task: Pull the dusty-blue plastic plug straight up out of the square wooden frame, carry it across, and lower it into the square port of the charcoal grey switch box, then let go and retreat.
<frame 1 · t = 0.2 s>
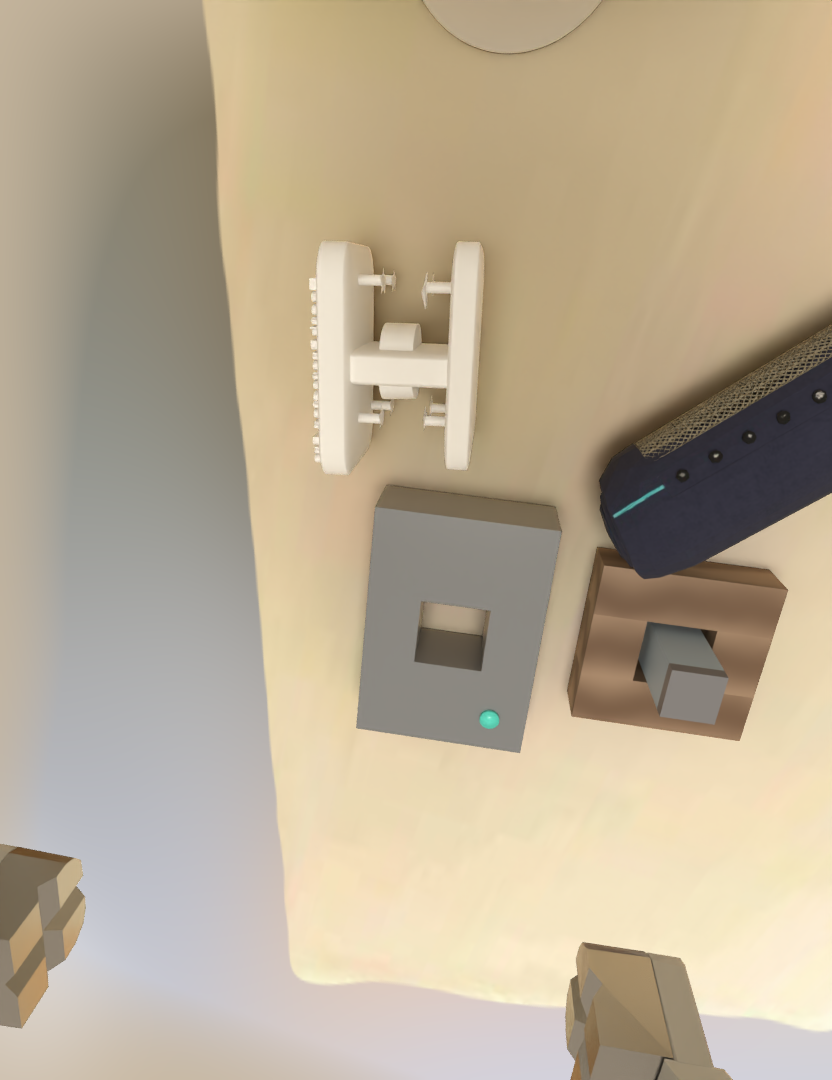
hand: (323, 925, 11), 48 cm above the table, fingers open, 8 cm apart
square wooden frame: (663, 633, 60), on the table
port box: (455, 604, 62), on the table
portable speaker: (742, 430, 54), on the table
cable organizer: (412, 350, 55), on the table
plug: (677, 662, 56), in the square wooden frame
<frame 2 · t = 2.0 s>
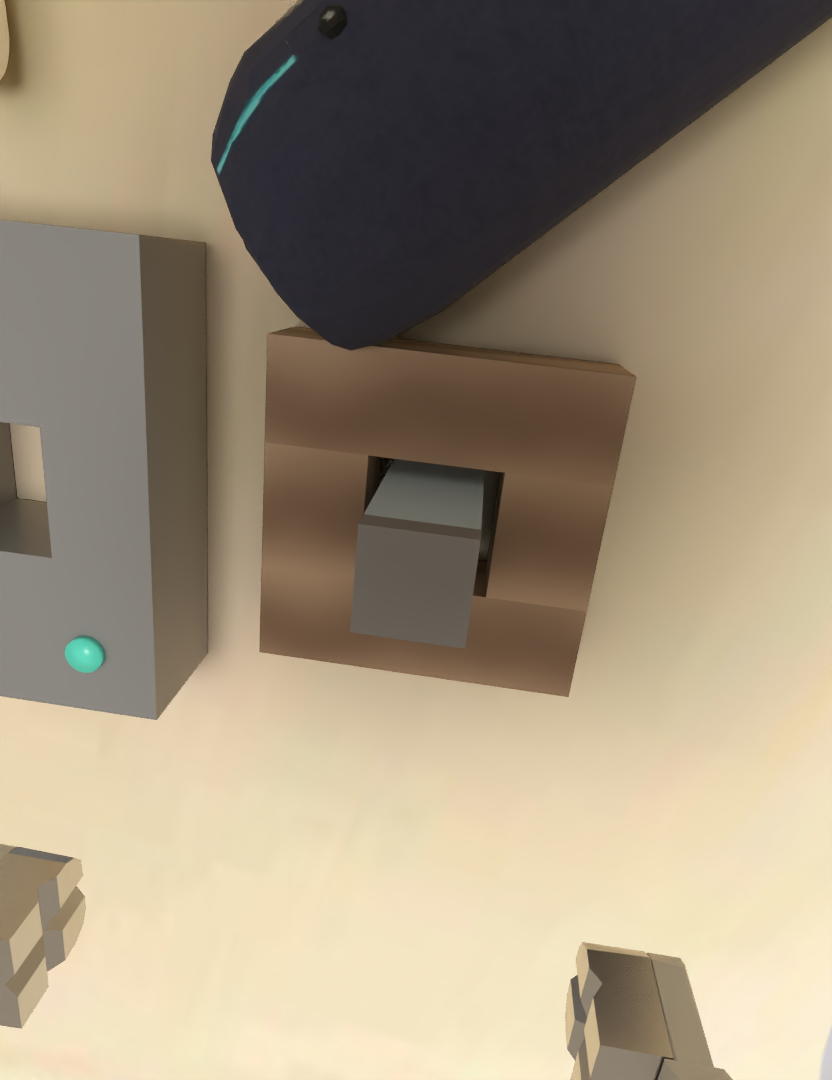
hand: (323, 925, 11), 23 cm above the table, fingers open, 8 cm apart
square wooden frame: (436, 499, 33), on the table
port box: (65, 451, 34), on the table
portable speaker: (556, 55, 26), on the table
plug: (426, 536, 28), in the square wooden frame
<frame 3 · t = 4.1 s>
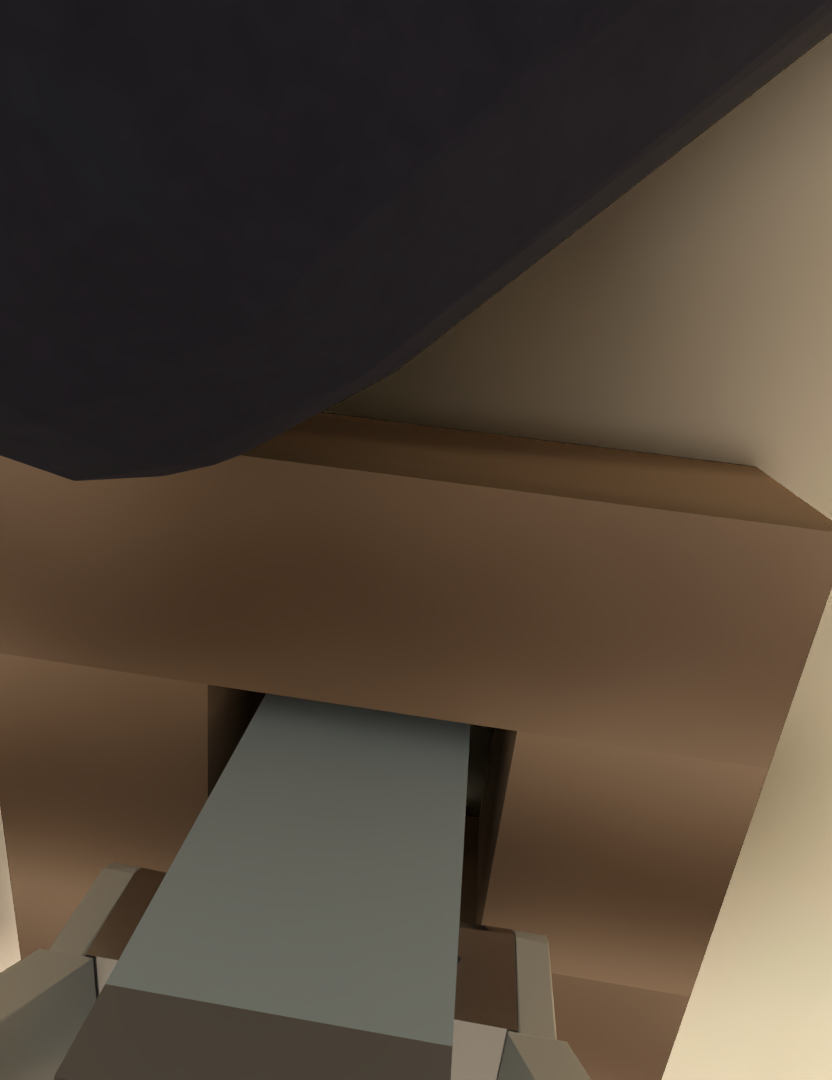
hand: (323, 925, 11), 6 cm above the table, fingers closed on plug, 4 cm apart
square wooden frame: (381, 709, 17), on the table
plug: (338, 871, 12), in the square wooden frame, touching gripper
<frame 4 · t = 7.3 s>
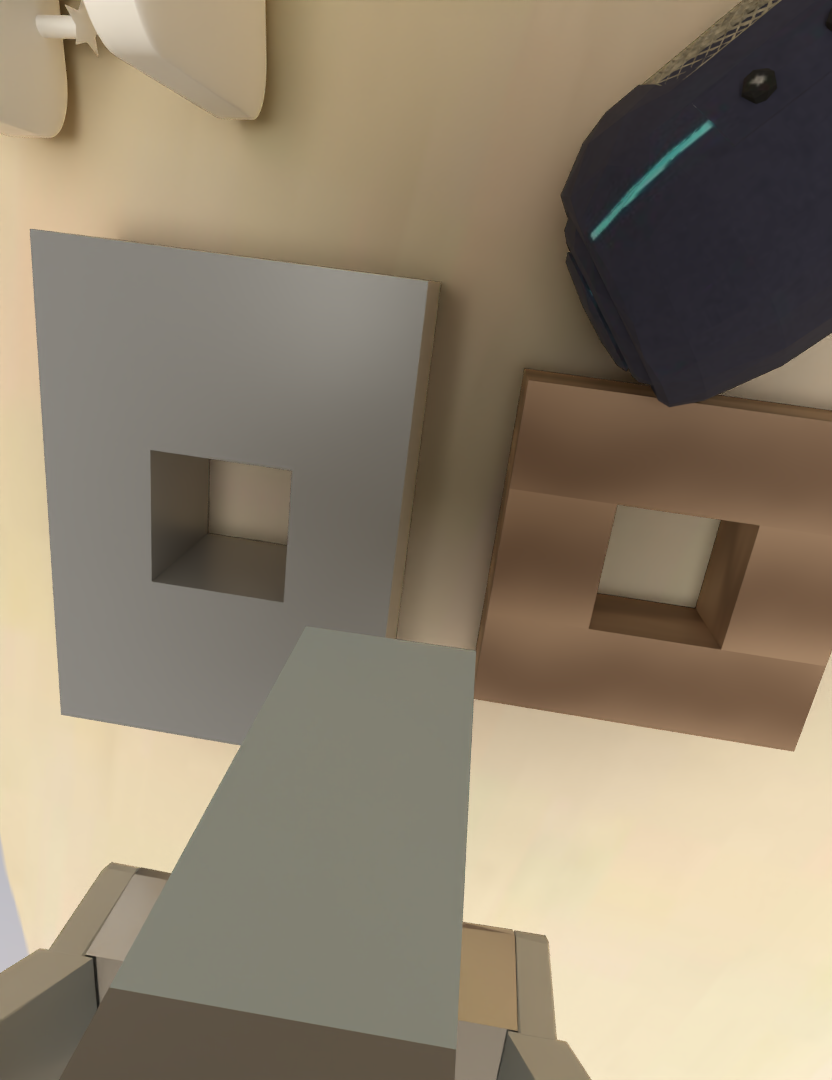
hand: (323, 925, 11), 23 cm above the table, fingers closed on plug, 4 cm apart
square wooden frame: (650, 545, 32), on the table
port box: (265, 487, 33), on the table
plug: (340, 873, 12), point 22 cm above the table, touching gripper
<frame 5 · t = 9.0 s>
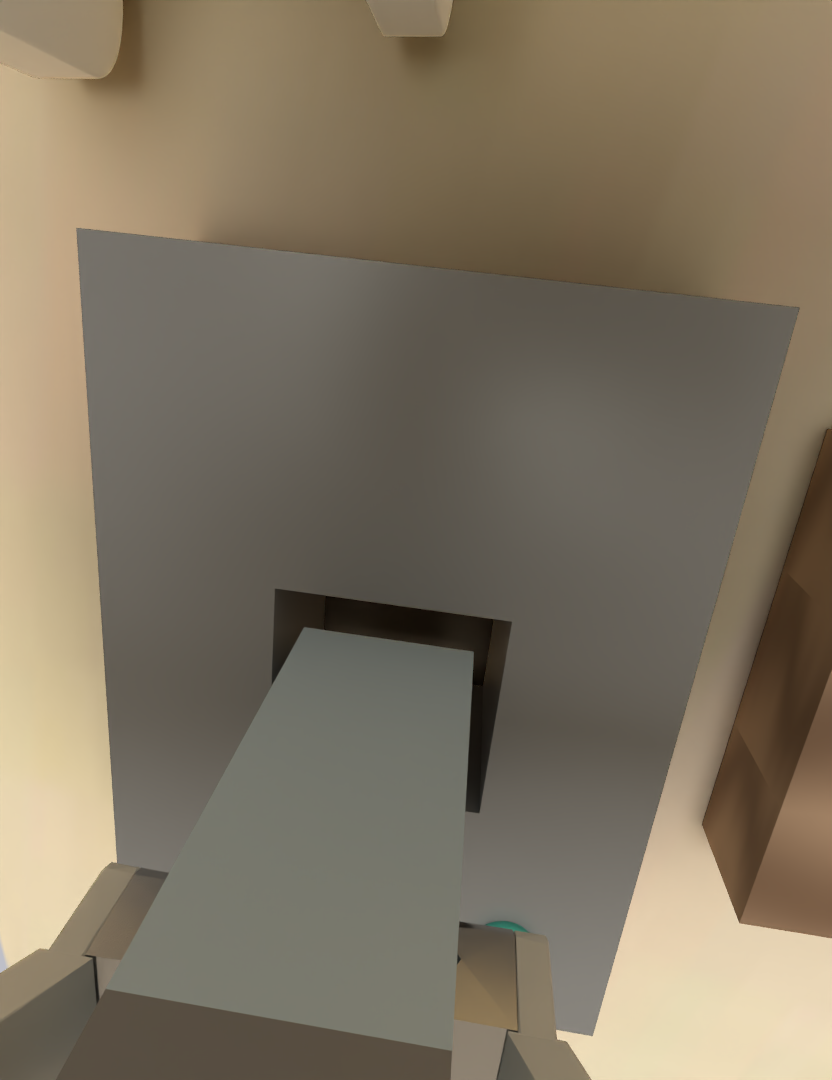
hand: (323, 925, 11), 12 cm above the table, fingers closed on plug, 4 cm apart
port box: (409, 600, 23), on the table
plug: (338, 874, 12), point 11 cm above the table, touching gripper
when the fingers open (7 cm above the table, at t = 10.4 s): plug stays where it is, resting in port box.
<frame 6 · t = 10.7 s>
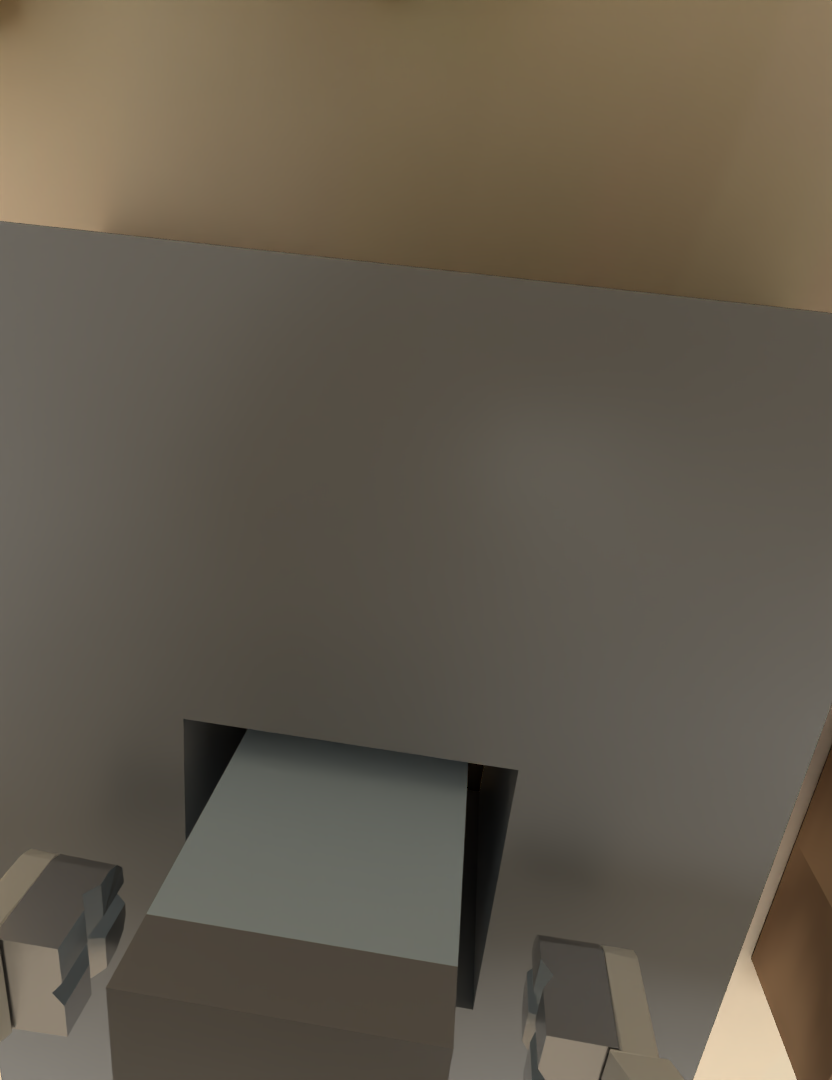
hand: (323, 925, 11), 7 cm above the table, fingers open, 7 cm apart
port box: (386, 688, 18), on the table
plug: (349, 831, 13), in the port box
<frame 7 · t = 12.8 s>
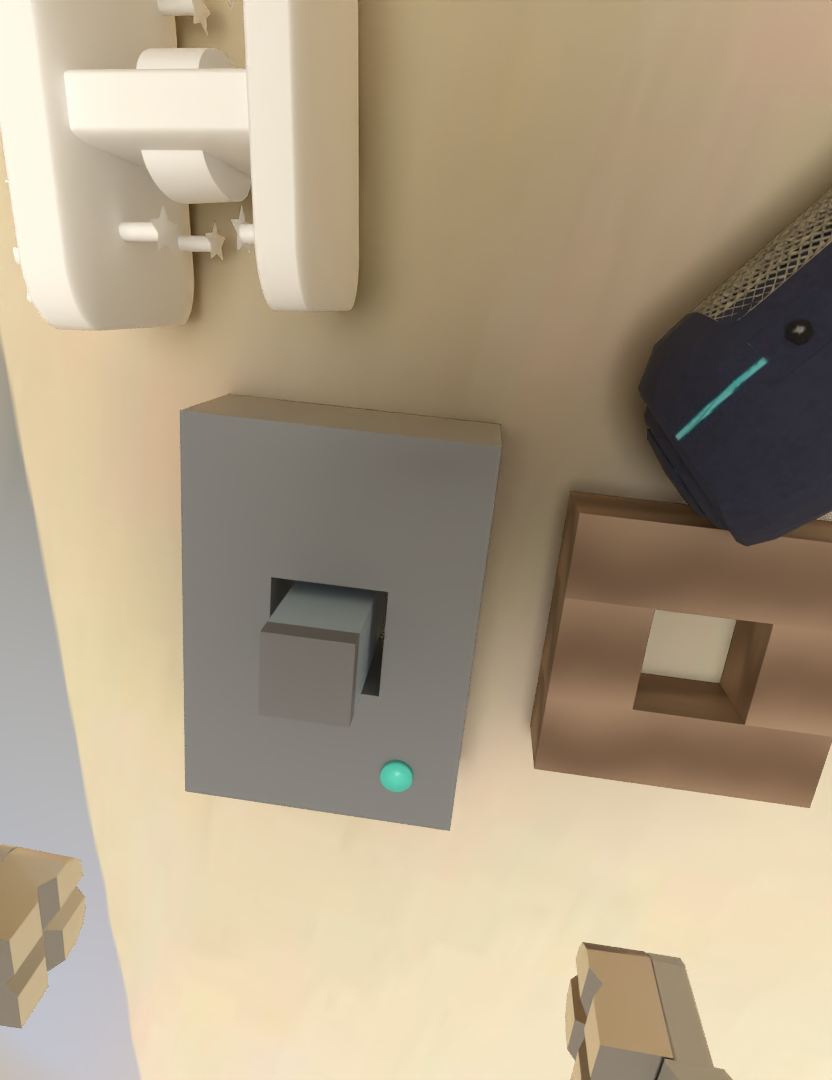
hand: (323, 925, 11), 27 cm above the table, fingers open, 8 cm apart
square wooden frame: (679, 632, 38), on the table
port box: (350, 589, 39), on the table
cable organizer: (253, 158, 33), on the table
plug: (331, 629, 34), in the port box
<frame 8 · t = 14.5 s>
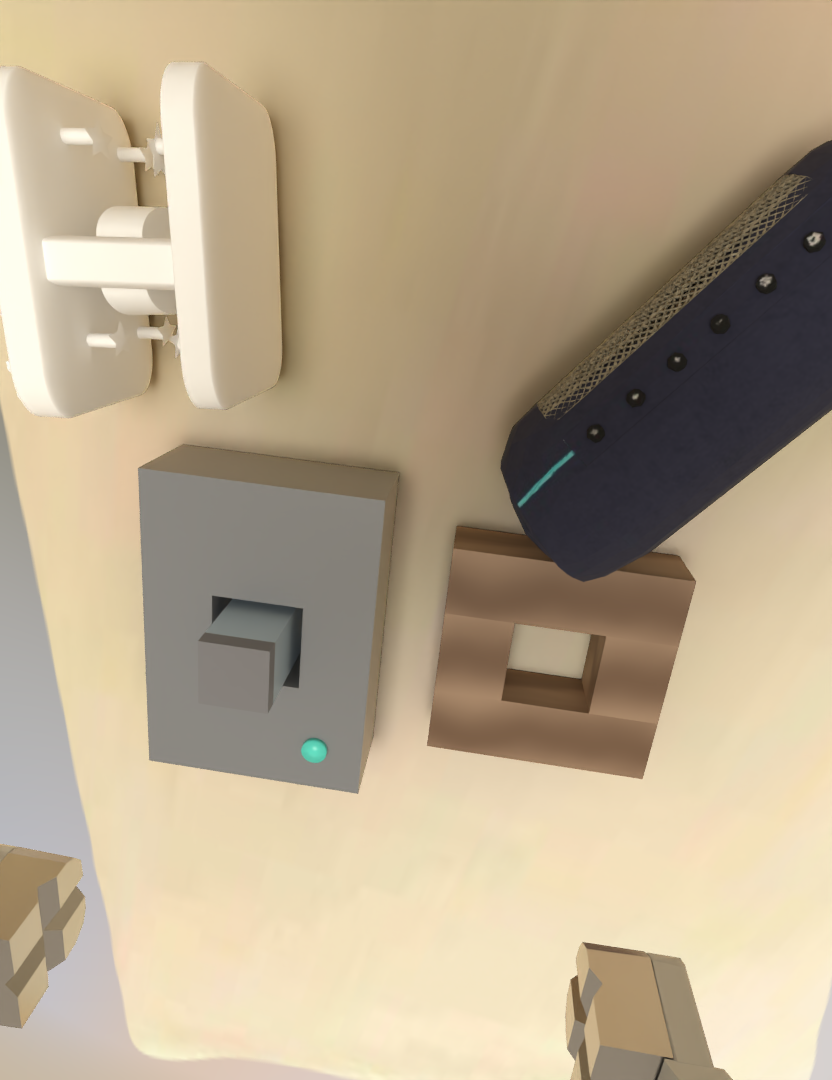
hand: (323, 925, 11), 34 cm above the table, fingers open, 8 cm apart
square wooden frame: (547, 638, 47), on the table
port box: (284, 600, 48), on the table
portable speaker: (689, 360, 40), on the table
cable organizer: (198, 261, 41), on the table
plug: (261, 635, 43), in the port box
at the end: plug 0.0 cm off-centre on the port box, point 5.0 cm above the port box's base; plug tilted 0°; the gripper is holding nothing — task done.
